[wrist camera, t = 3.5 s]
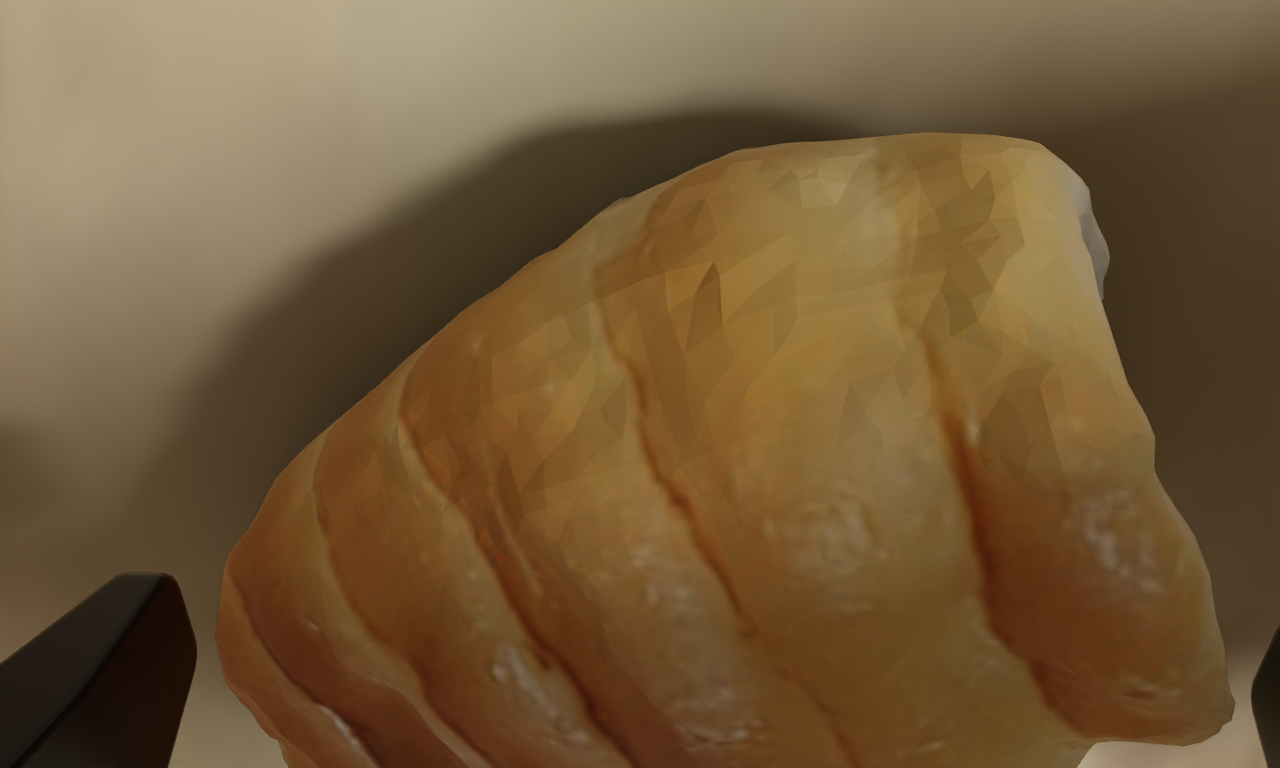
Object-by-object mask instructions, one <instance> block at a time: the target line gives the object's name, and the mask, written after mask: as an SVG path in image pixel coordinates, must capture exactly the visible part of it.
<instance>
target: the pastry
mask: <svg viewBox="0 0 1280 768" xmlns="http://www.w3.org/2000/svg"><path fill="white" fill-rule="evenodd" d="M1109 262H1110V256H1109V251H1108V246H1107V243H1106V241H1105V239H1104V237H1103V235H1102V233H1101V231H1100V229H1099V227H1098V224H1097V222H1096V219H1095V217H1094V215H1093V212H1092V205H1091V198H1090V192H1089V188H1088V187H1087V186H1086V184H1085V183H1084V181H1083V180H1082V179H1081V178H1080V177H1079V176H1078V175H1077V174H1076V173H1075V172H1074V171H1073V170H1072V169H1071V168H1070V167H1069V166H1068V165H1067V164H1066V163H1065V162H1063V161H1062V160H1061V159H1059V158H1058V157H1057V156H1056V155H1054V154H1053V153H1052V152H1050V151H1049V150H1048V149H1047V148H1045V147H1044V146H1043V145H1041V144H1040V143H1037V142H1033V141H1029V140H1025V139H1018V138H1012V137H1006V136H999V135H990V134H963V133H936V132H921V133H910V134H900V135H889V136H878V137H868V138H857V139H846V140H833V141H820V142H794V143H782V144H776V145H769V146H763V147H749V148H744V149H741V150H737V151H734V152H731V153H729V154H727V155H725V156H722V157H720V158H717V159H715V160H712V161H709V162H707V163H704V164H702V165H699V166H697V167H695V168H693V169H691V170H689V171H687V172H685V173H683V174H681V175H679V176H677V177H675V178H673V179H671V180H668V181H666V182H663V183H661V184H658V185H656V186H654V187H652V188H650V189H647V190H645V191H643V192H641V193H638V194H636V195H634V196H631V197H627V198H620V199H618V200H616V201H615V202H613V203H612V204H611V205H609V206H608V207H607V208H605V209H604V210H603V211H601V212H600V213H599V214H597V215H596V216H595V217H594V218H593V219H591V220H590V221H589V222H588V223H587V224H585V225H584V226H583V227H582V228H581V229H579V230H578V231H577V232H576V233H574V234H573V235H572V236H571V237H570V238H568V239H567V240H566V241H565V242H564V243H562V244H561V245H560V246H559V247H558V248H556V249H554V250H551V251H549V252H546V253H544V254H542V255H540V256H538V257H536V258H534V259H533V260H532V261H530V262H529V263H528V264H526V265H524V266H523V267H522V268H521V269H520V270H519V271H518V272H517V273H515V274H514V275H513V276H512V277H510V278H509V279H508V280H507V281H506V282H504V283H503V284H502V285H501V286H500V287H498V288H497V289H495V290H494V291H492V292H490V293H489V294H487V295H485V296H484V297H482V298H480V299H479V300H477V301H476V302H474V303H473V304H471V305H470V306H469V307H467V308H466V309H464V310H463V311H462V312H460V313H459V314H458V315H457V316H456V317H455V318H454V319H453V320H451V321H450V322H449V323H448V324H447V325H446V326H445V327H444V328H443V329H441V330H440V331H439V332H438V333H437V334H436V335H434V336H433V337H432V338H431V339H429V340H428V341H427V342H426V343H425V344H423V345H422V346H421V347H420V348H418V349H417V350H416V351H415V352H414V353H412V354H411V355H410V356H409V357H407V358H406V359H405V360H404V361H403V362H402V363H401V364H400V365H399V366H398V367H397V368H396V369H395V370H394V371H393V372H392V373H391V374H390V375H389V376H388V377H386V378H385V379H384V380H383V381H382V382H381V383H380V384H379V385H378V386H376V387H375V388H374V389H372V390H371V391H370V392H369V393H368V394H367V395H366V396H365V397H363V398H362V399H361V400H360V401H359V402H357V403H356V404H355V405H354V406H353V407H352V408H350V409H349V410H348V411H347V412H346V413H344V414H343V415H342V416H341V417H340V418H339V419H337V420H336V421H335V422H334V423H333V424H331V425H330V426H329V427H328V428H327V429H326V430H324V431H323V432H322V433H321V434H320V435H318V436H317V437H316V438H315V439H314V440H313V441H311V442H310V443H309V444H308V445H307V446H306V447H305V448H304V449H303V450H302V451H301V452H300V453H299V454H298V455H297V456H296V457H295V458H294V459H293V460H292V461H291V462H290V463H289V464H288V465H287V466H286V467H285V468H284V469H283V471H282V472H281V473H280V474H279V475H278V476H277V478H276V479H275V481H274V482H273V484H272V486H271V488H270V490H269V492H268V494H267V496H266V498H265V500H264V502H263V504H262V505H261V507H260V509H259V511H258V513H257V515H256V517H255V519H254V521H253V522H252V523H251V525H250V526H249V528H248V529H247V530H246V532H245V533H244V535H243V536H242V537H241V538H240V540H239V541H238V542H237V543H236V545H235V546H234V547H233V549H232V550H231V551H230V552H229V554H228V557H227V561H226V564H225V568H224V572H223V576H222V583H221V591H220V599H219V609H218V617H217V625H216V633H215V638H216V642H217V647H218V652H219V656H220V661H221V666H222V672H223V675H224V678H225V681H226V683H227V685H228V686H229V687H230V689H231V690H232V691H233V692H234V694H235V695H236V696H237V698H238V699H239V700H240V701H241V702H242V703H243V704H244V705H245V706H246V707H247V708H248V709H249V710H250V711H251V712H252V714H253V715H254V717H255V718H256V720H257V722H258V723H259V725H260V726H261V728H262V729H263V730H264V731H265V732H266V733H267V734H268V735H269V736H270V737H272V738H275V739H277V740H278V741H279V744H280V748H281V751H282V755H283V758H284V760H285V762H286V763H287V765H288V767H289V768H1077V766H1078V765H1079V763H1080V762H1081V760H1082V759H1083V757H1084V756H1085V754H1086V753H1087V752H1088V751H1089V749H1090V748H1091V747H1092V745H1094V744H1095V743H1097V742H1108V741H1129V742H1141V743H1152V744H1164V745H1176V746H1187V745H1192V744H1196V743H1201V742H1203V741H1205V740H1207V739H1208V738H1210V737H1212V736H1213V735H1215V734H1217V733H1218V732H1219V731H1220V729H1221V728H1222V726H1223V725H1224V724H1226V723H1227V722H1229V721H1231V719H1232V715H1233V711H1234V706H1235V701H1234V699H1233V696H1232V694H1231V692H1230V688H1229V685H1228V681H1227V670H1226V658H1225V648H1224V642H1223V639H1222V635H1221V632H1220V628H1219V625H1218V621H1217V618H1216V614H1215V606H1214V599H1213V592H1212V584H1211V577H1210V575H1209V572H1208V569H1207V566H1206V564H1205V561H1204V558H1203V556H1202V553H1201V550H1200V548H1199V545H1198V542H1197V539H1196V537H1195V535H1194V534H1193V532H1192V531H1191V529H1190V528H1189V526H1188V525H1187V523H1186V522H1185V520H1184V519H1183V517H1182V516H1181V514H1180V512H1179V511H1178V509H1177V508H1176V506H1175V504H1174V503H1173V501H1172V500H1171V498H1170V496H1169V495H1168V493H1167V492H1166V490H1165V489H1164V487H1163V485H1162V484H1161V482H1160V481H1159V478H1158V476H1157V474H1156V472H1155V470H1154V459H1155V436H1154V433H1153V431H1152V428H1151V425H1150V423H1149V420H1148V418H1147V416H1146V414H1145V412H1144V411H1143V409H1142V407H1141V406H1140V404H1139V402H1138V400H1137V399H1136V397H1135V395H1134V393H1133V392H1132V390H1131V388H1130V386H1129V385H1128V382H1127V379H1126V376H1125V373H1124V370H1123V367H1122V363H1121V360H1120V357H1119V354H1118V351H1117V348H1116V345H1115V342H1114V339H1113V335H1112V332H1111V329H1110V326H1109V323H1108V320H1107V317H1106V314H1105V311H1104V308H1103V305H1102V302H1101V301H1102V300H1103V299H1104V298H1103V280H1104V277H1105V275H1106V273H1107V270H1108V266H1109Z"/></svg>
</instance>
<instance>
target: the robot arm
mask: <svg viewBox="0 0 1280 768" xmlns="http://www.w3.org/2000/svg"><path fill="white" fill-rule="evenodd" d="M196 660H197V645H196V639H195V636H194V632H193V629H192V626H191V623H190V619H189V616H188V613H187V610H186V606H185V603H184V600H183V597H182V594H181V590H180V587H179V585H178V583H177V581H176V580H175V579H174V577H172V576H171V575H169V574H166V573H145V572H126V573H122V574H120V575H118V576H116V577H114V578H113V579H111V580H110V581H108V582H107V583H106V584H105V585H103V586H102V587H101V588H99V589H98V590H97V591H95V592H94V593H93V594H91V595H90V596H89V597H87V598H86V599H85V600H83V601H82V602H81V603H79V604H78V605H77V606H75V607H74V608H73V609H72V610H70V611H69V612H68V613H66V614H65V615H64V616H62V617H61V618H60V619H58V620H57V621H56V622H54V623H53V624H52V625H50V626H49V627H48V628H46V629H45V630H44V631H42V632H41V633H40V634H39V635H37V636H36V637H35V638H33V639H32V640H31V641H29V642H28V643H27V644H25V645H24V646H23V647H21V648H20V649H19V650H17V651H16V652H15V653H13V654H12V655H11V656H9V657H8V658H7V659H6V660H4V661H3V662H2V663H0V768H168V767H169V763H170V759H171V756H172V752H173V748H174V745H175V741H176V737H177V734H178V730H179V726H180V723H181V719H182V715H183V712H184V708H185V704H186V701H187V697H188V693H189V690H190V686H191V682H192V679H193V675H194V671H195V667H196ZM1251 704H1252V711H1253V715H1254V719H1255V723H1256V727H1257V730H1258V734H1259V738H1260V742H1261V746H1262V749H1263V753H1264V757H1265V761H1266V765H1267V768H1280V625H1279V627H1278V629H1277V631H1276V633H1275V635H1274V637H1273V639H1272V641H1271V643H1270V646H1269V648H1268V650H1267V652H1266V654H1265V656H1264V658H1263V660H1262V663H1261V665H1260V667H1259V669H1258V671H1257V673H1256V675H1255V678H1254V681H1253V684H1252V689H1251Z"/></svg>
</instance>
